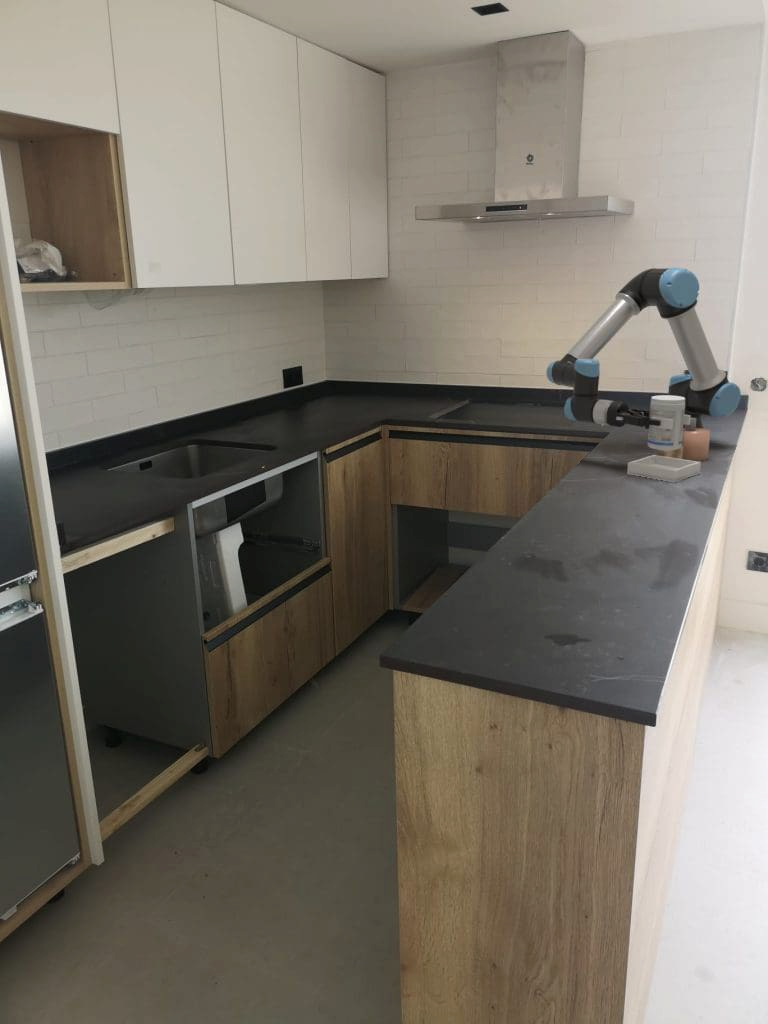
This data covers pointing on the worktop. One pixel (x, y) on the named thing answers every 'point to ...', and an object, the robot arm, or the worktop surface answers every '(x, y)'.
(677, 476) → the tray
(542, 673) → the worktop surface
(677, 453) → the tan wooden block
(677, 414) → the supplement tub
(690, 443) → the peach lotion bottle
